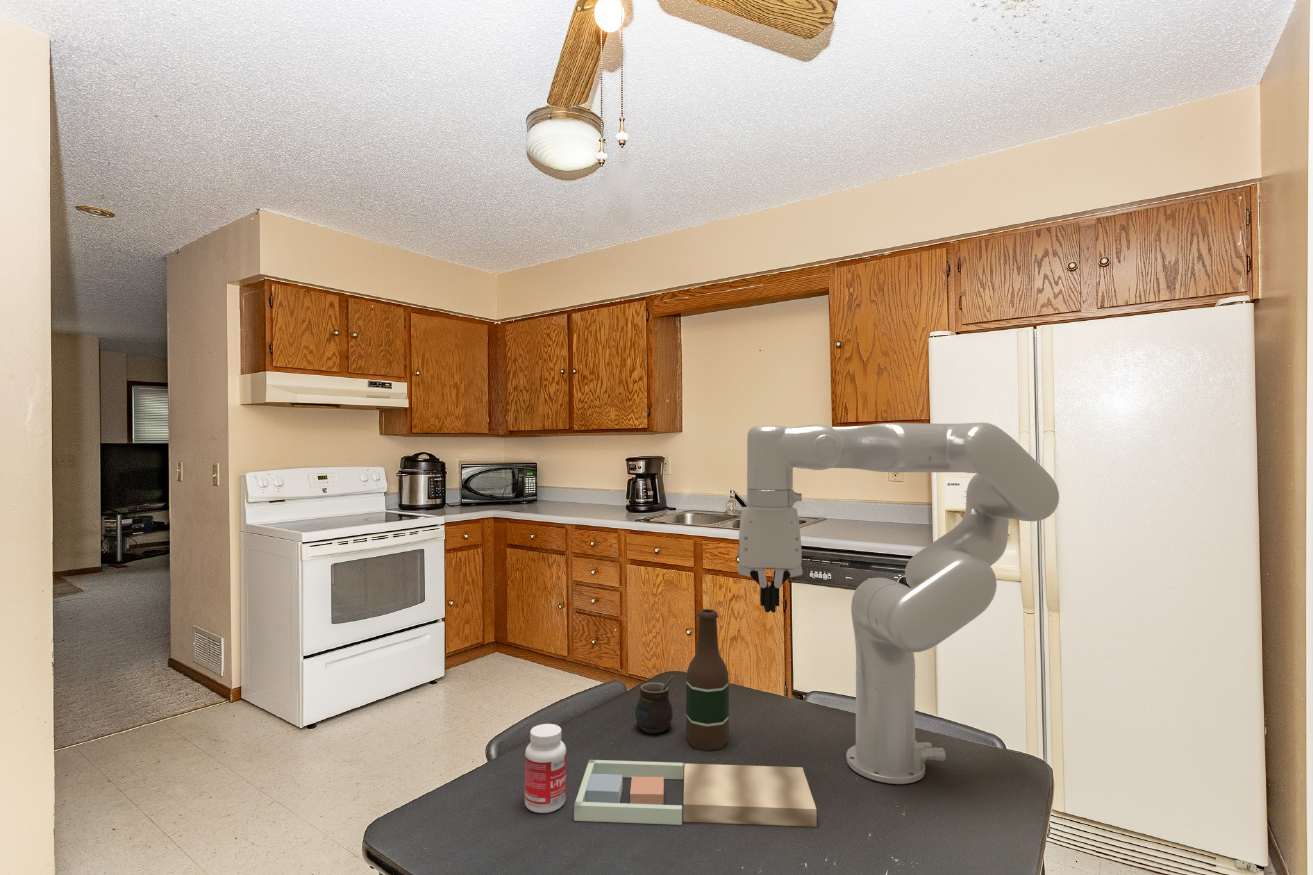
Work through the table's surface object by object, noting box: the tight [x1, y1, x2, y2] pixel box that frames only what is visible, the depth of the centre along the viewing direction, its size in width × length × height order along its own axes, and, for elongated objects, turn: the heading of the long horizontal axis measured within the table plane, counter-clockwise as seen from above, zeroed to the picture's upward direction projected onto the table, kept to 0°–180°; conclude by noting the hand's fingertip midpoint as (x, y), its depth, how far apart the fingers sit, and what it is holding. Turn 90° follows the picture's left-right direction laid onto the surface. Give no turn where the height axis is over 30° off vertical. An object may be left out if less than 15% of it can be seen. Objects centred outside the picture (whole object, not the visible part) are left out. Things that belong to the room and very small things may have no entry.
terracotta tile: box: [629, 777, 665, 805], centre depth 99 cm, size 5×5×2 cm
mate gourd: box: [634, 674, 675, 734], centre depth 124 cm, size 7×8×10 cm
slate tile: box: [586, 774, 624, 803], centre depth 100 cm, size 5×5×2 cm
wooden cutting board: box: [682, 763, 818, 828], centre depth 99 cm, size 19×12×2 cm, turn 87°
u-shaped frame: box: [573, 759, 684, 826], centre depth 100 cm, size 16×14×2 cm
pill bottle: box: [524, 723, 567, 814], centre depth 98 cm, size 6×6×11 cm
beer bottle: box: [685, 608, 730, 752], centre depth 118 cm, size 8×8×24 cm
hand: (769, 610), depth 107 cm, fingers closed
